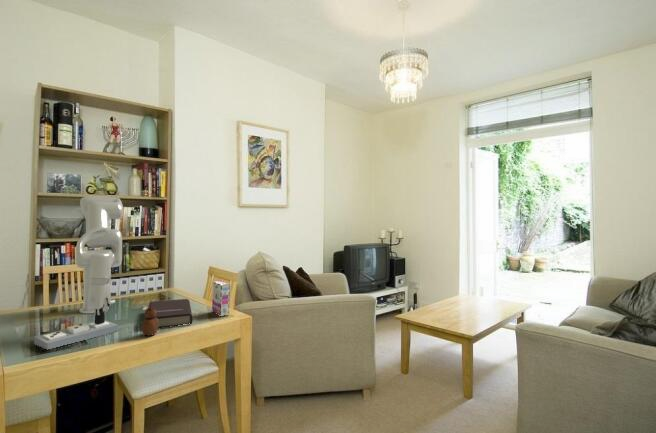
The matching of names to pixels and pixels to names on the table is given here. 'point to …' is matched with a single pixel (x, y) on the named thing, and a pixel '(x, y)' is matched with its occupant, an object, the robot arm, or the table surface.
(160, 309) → the book
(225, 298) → the candy bar box
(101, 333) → the tile board
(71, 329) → the two dot tile
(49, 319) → the table surface
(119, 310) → the table surface
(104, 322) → the one dot tile
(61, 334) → the three dot tile
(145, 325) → the wooden figurine
